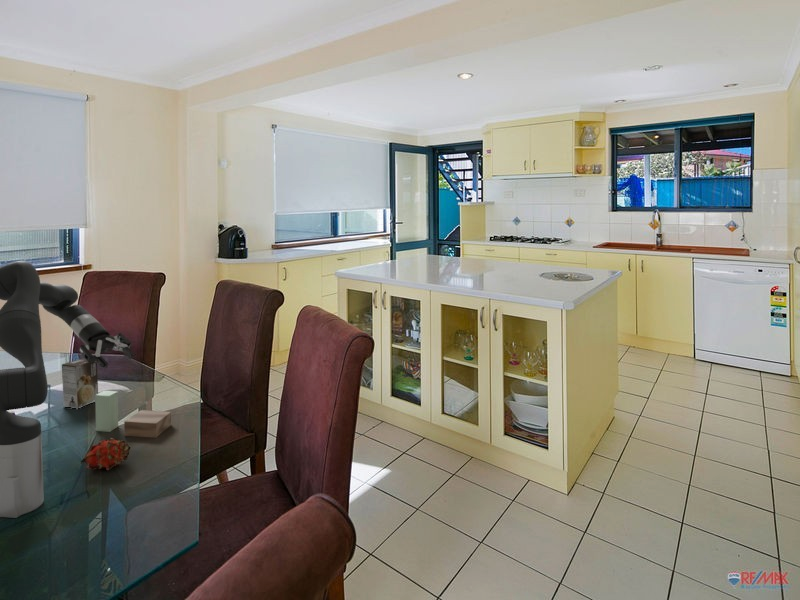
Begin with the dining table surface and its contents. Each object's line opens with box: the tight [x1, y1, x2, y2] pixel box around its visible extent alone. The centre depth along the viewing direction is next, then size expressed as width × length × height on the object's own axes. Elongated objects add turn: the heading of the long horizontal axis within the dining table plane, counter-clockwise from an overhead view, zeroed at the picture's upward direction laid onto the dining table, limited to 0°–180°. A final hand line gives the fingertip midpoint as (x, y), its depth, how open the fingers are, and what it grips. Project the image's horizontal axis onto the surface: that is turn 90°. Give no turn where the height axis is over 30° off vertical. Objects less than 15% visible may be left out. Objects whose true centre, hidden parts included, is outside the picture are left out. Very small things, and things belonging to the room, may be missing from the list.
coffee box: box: [61, 357, 99, 408], centre depth 172 cm, size 9×6×16 cm
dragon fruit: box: [80, 437, 131, 471], centre depth 131 cm, size 8×8×12 cm
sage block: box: [94, 390, 119, 433], centre depth 154 cm, size 4×4×12 cm
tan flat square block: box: [123, 409, 172, 439], centre depth 156 cm, size 10×10×5 cm
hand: (119, 361), depth 156 cm, fingers open, 8 cm apart
